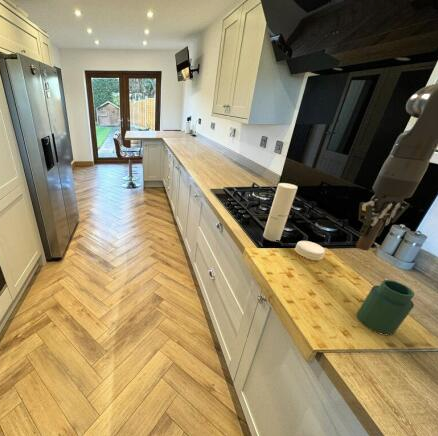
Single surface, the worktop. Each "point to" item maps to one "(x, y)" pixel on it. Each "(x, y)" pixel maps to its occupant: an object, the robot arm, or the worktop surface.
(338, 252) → the worktop surface
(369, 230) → the robot arm
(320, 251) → the cream round disc
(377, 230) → the dark brown cylinder
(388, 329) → the green jar
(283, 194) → the cylindrical container
